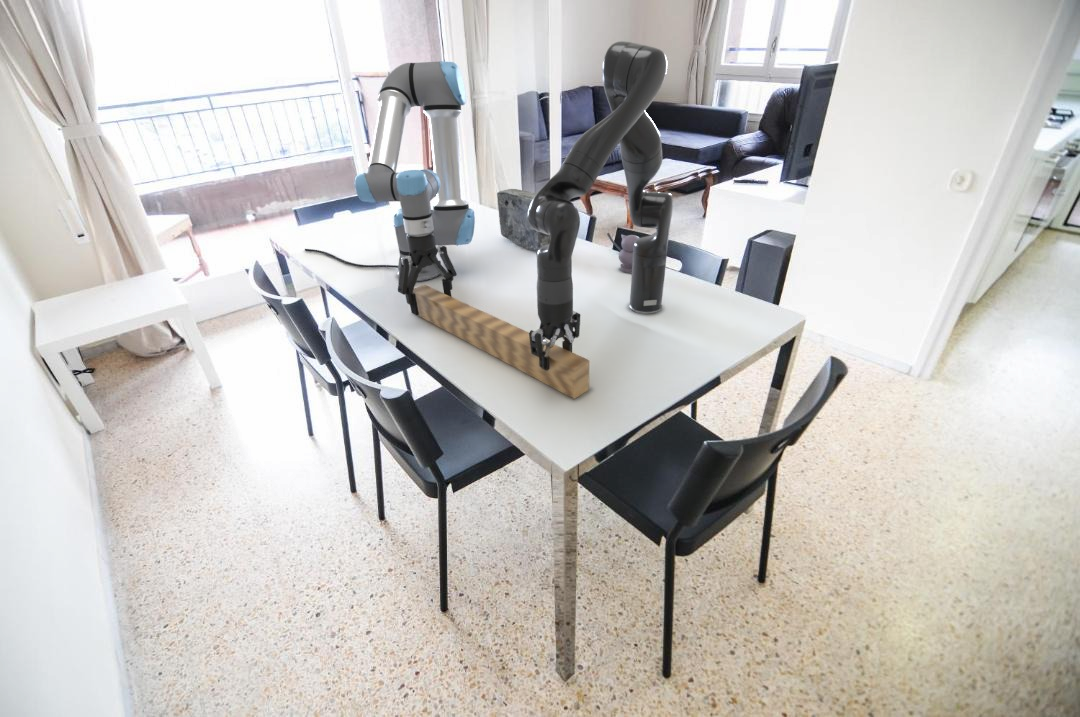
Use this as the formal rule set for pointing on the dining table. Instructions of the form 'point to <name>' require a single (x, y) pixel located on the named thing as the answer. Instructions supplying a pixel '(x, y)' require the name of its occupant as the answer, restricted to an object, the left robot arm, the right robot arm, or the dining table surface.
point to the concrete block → (519, 219)
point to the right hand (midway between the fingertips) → (556, 362)
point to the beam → (503, 341)
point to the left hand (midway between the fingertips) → (432, 307)
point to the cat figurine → (627, 252)
